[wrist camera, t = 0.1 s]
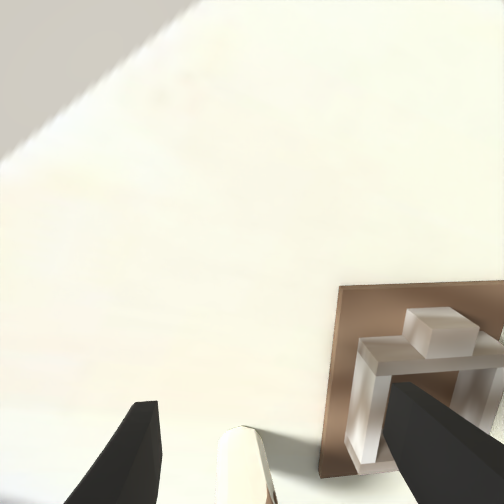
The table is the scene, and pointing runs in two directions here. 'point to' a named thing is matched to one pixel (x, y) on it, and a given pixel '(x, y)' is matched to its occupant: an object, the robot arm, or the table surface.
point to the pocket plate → (408, 363)
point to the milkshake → (243, 469)
